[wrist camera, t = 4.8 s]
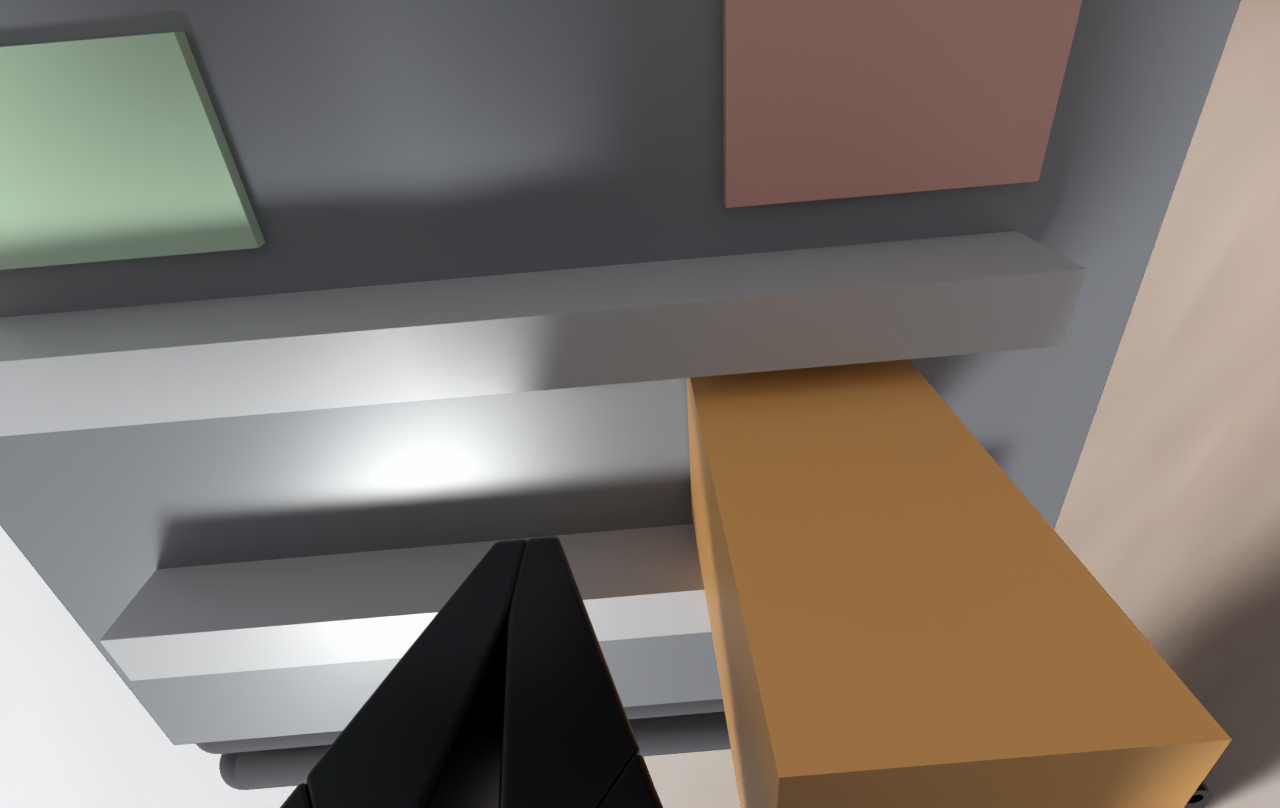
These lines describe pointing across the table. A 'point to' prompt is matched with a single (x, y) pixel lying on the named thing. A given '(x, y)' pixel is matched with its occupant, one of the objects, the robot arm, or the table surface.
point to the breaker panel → (523, 293)
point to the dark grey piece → (298, 754)
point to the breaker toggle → (913, 613)
